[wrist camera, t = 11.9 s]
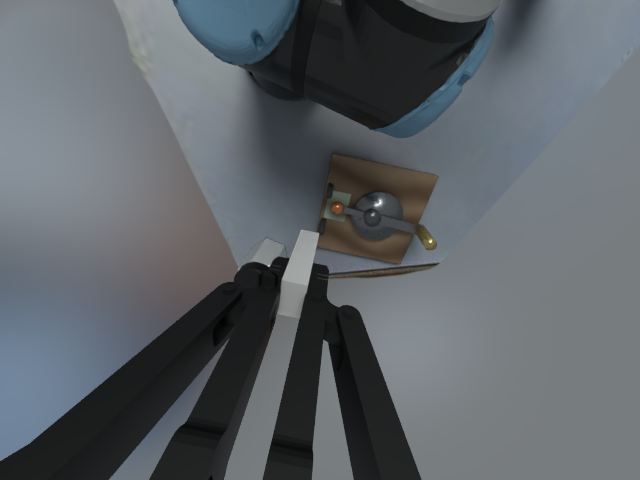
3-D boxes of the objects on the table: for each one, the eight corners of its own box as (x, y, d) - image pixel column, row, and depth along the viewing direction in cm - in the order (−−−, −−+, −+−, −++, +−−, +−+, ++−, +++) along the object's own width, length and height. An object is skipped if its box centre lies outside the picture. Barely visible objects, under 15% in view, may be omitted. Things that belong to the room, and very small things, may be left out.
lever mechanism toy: (332, 153, 43) (330, 159, 36) (435, 174, 43) (452, 185, 36) (314, 243, 53) (310, 261, 46) (399, 260, 53) (406, 281, 46)
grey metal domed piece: (324, 224, 48) (321, 242, 41) (337, 178, 43) (336, 190, 36) (412, 247, 49) (423, 269, 42) (434, 204, 44) (451, 221, 37)
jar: (290, 268, 57) (278, 302, 46) (259, 269, 58) (240, 303, 47) (283, 236, 53) (268, 266, 42) (250, 238, 54) (227, 268, 43)
